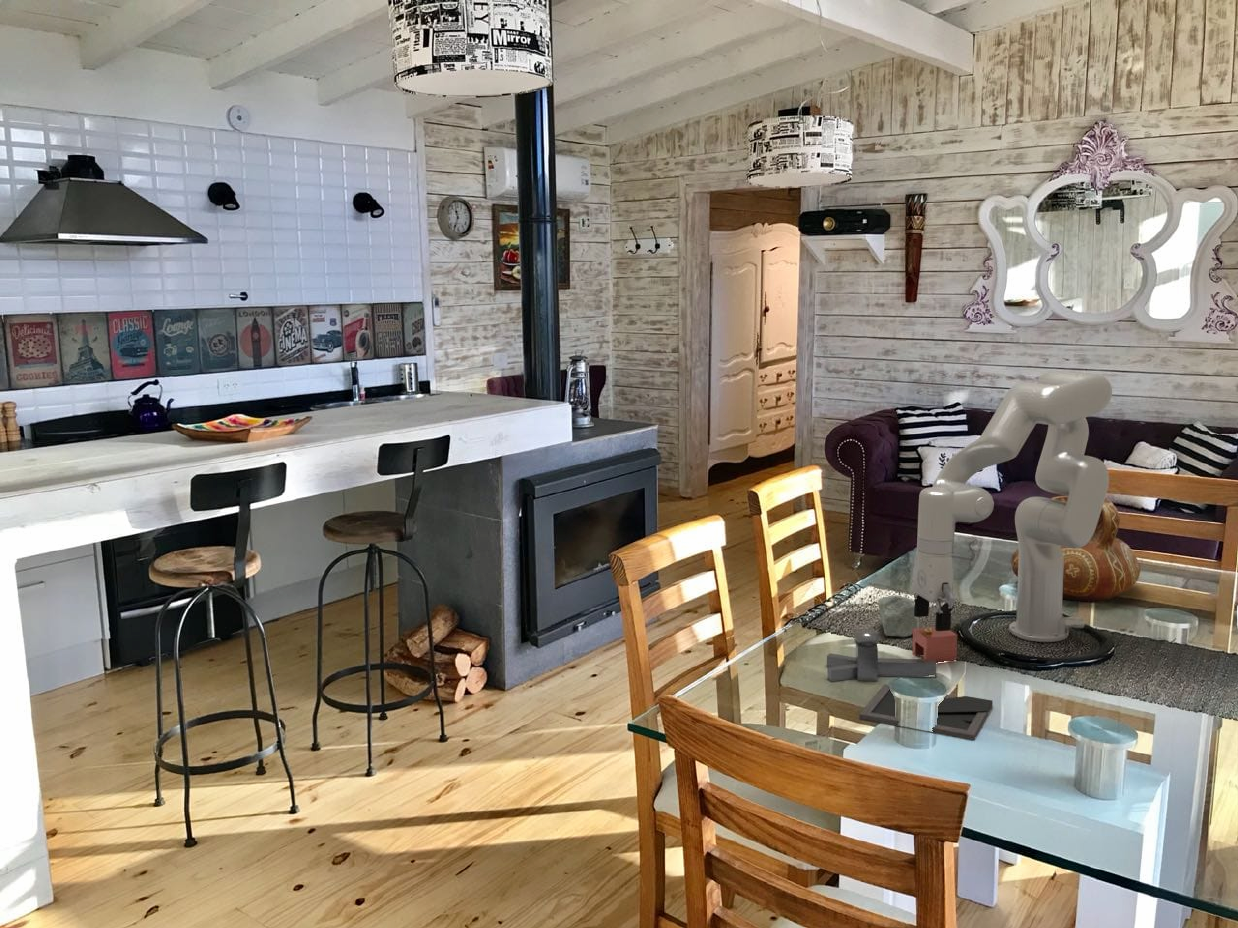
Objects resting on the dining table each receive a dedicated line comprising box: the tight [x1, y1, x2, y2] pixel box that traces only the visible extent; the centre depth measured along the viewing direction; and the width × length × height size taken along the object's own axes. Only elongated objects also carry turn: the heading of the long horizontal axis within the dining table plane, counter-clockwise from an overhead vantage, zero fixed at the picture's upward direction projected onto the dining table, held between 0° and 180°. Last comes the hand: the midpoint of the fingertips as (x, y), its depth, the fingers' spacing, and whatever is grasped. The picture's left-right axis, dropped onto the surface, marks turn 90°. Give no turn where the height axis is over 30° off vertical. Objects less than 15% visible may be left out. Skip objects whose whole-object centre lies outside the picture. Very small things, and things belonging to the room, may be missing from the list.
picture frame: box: [859, 683, 994, 741], centre depth 199 cm, size 16×2×21 cm
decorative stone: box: [877, 595, 920, 638], centre depth 243 cm, size 13×11×10 cm
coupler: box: [826, 628, 937, 683], centre depth 218 cm, size 22×10×9 cm, turn 80°
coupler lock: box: [912, 625, 958, 663], centre depth 225 cm, size 7×6×7 cm
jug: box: [1010, 495, 1141, 604], centre depth 265 cm, size 30×30×25 cm
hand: (931, 623), depth 224 cm, fingers open, 9 cm apart
